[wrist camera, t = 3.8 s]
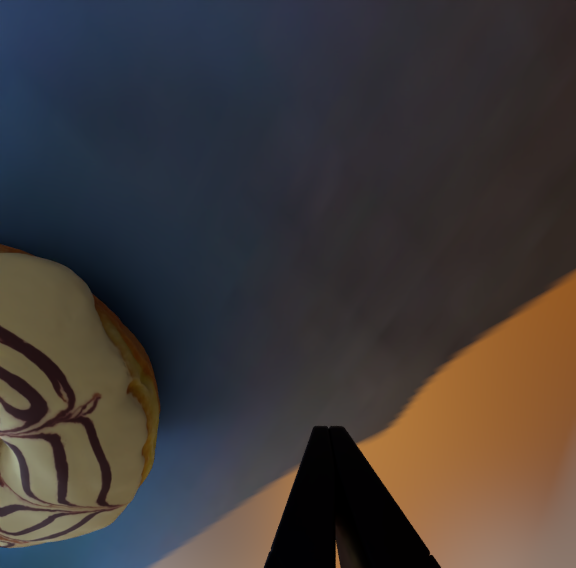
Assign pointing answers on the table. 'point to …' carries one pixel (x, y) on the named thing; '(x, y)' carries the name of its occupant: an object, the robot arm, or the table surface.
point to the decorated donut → (67, 405)
